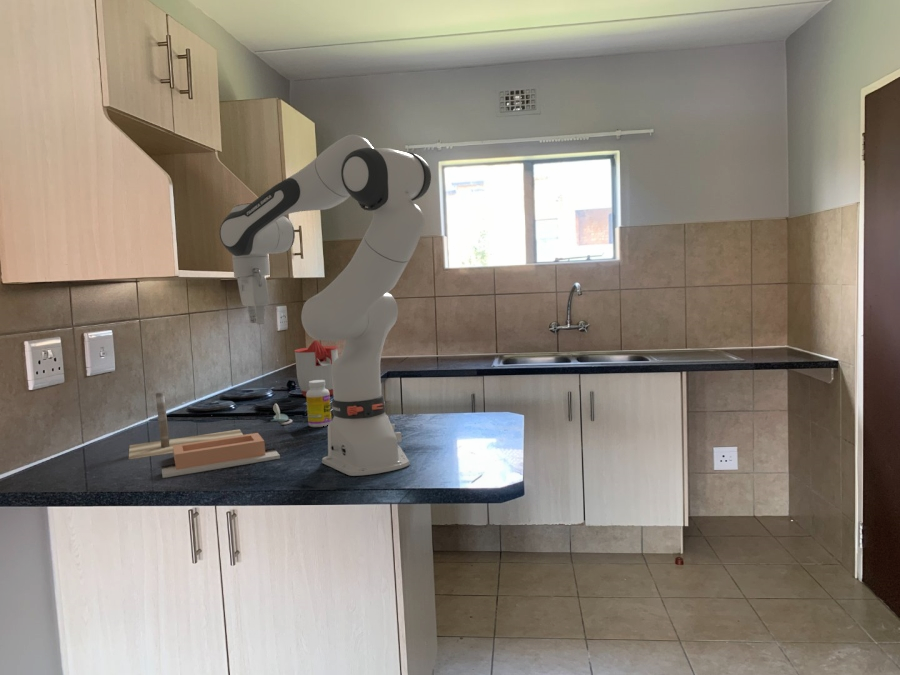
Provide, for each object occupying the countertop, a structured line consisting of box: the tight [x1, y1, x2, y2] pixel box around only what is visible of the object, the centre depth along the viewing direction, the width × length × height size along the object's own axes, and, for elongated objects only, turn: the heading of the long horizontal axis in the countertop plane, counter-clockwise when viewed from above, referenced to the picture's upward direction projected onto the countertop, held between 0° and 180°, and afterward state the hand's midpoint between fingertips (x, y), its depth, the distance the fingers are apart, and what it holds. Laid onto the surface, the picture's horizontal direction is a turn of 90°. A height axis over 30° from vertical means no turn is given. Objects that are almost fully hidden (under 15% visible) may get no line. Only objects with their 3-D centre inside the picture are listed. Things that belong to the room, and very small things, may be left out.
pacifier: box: [270, 403, 293, 426], centre depth 202 cm, size 7×6×6 cm
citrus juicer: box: [293, 339, 339, 398], centre depth 245 cm, size 16×17×20 cm
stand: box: [128, 391, 244, 460], centre depth 177 cm, size 16×28×16 cm, turn 114°
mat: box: [160, 447, 281, 479], centre depth 164 cm, size 14×26×1 cm, turn 114°
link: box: [172, 432, 266, 470], centre depth 164 cm, size 10×20×4 cm, turn 114°
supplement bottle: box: [305, 380, 332, 428], centre depth 196 cm, size 7×7×13 cm
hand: (257, 323), depth 174 cm, fingers open, 8 cm apart
